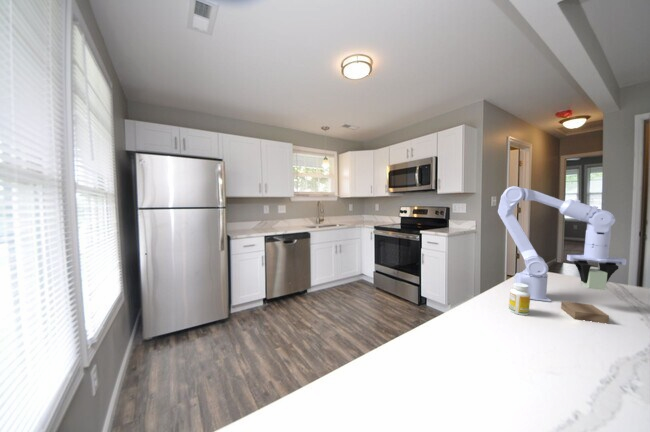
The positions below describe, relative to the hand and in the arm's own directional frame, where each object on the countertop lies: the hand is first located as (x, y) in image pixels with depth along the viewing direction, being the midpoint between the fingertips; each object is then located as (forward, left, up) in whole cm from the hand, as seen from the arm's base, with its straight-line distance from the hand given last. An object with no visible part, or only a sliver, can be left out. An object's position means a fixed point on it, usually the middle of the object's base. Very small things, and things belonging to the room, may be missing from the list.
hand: (593, 282), depth 85 cm
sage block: (0, 0, -2) cm, 2 cm away
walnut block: (-6, -9, -9) cm, 14 cm away
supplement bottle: (-25, -13, -9) cm, 30 cm away
